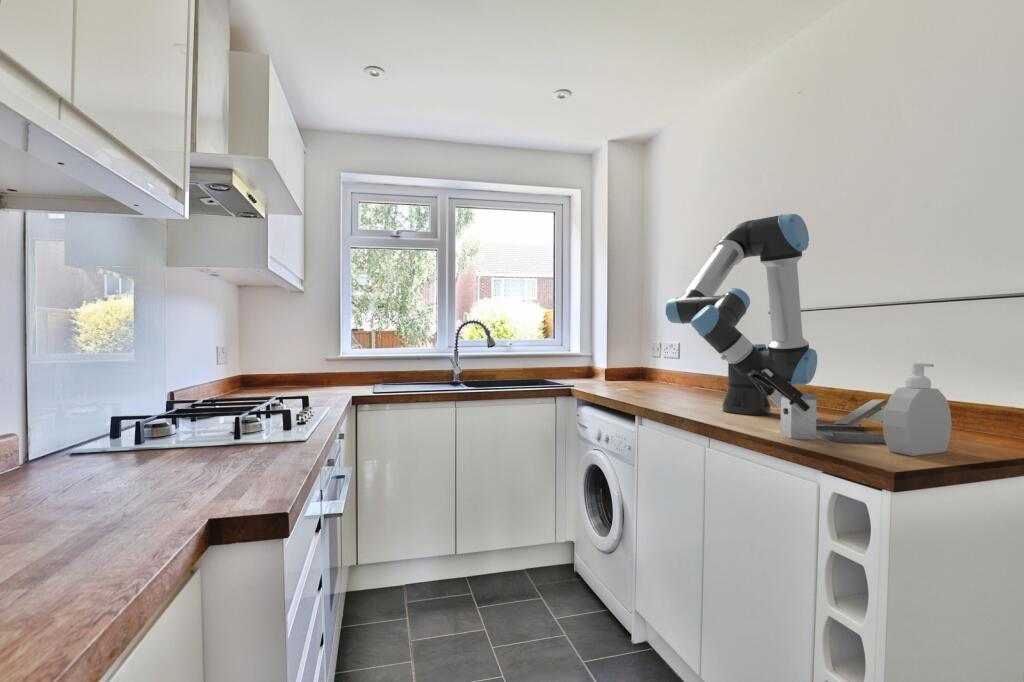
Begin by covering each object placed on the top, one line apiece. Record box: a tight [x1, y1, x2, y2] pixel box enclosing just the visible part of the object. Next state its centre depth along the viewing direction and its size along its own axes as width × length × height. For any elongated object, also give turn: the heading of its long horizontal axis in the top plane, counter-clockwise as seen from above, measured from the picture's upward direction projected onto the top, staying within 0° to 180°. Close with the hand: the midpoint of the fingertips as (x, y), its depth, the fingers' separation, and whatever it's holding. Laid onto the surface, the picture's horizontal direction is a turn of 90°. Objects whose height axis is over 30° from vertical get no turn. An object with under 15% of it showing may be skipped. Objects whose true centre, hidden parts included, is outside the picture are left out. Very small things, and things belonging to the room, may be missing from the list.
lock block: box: [779, 392, 818, 440], centre depth 128 cm, size 6×6×11 cm
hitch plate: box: [816, 419, 887, 445], centre depth 127 cm, size 12×14×4 cm
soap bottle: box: [883, 362, 953, 457], centre depth 111 cm, size 16×5×20 cm, turn 111°
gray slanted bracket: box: [832, 398, 888, 426], centre depth 143 cm, size 16×9×15 cm
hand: (802, 414), depth 128 cm, fingers open, 13 cm apart
